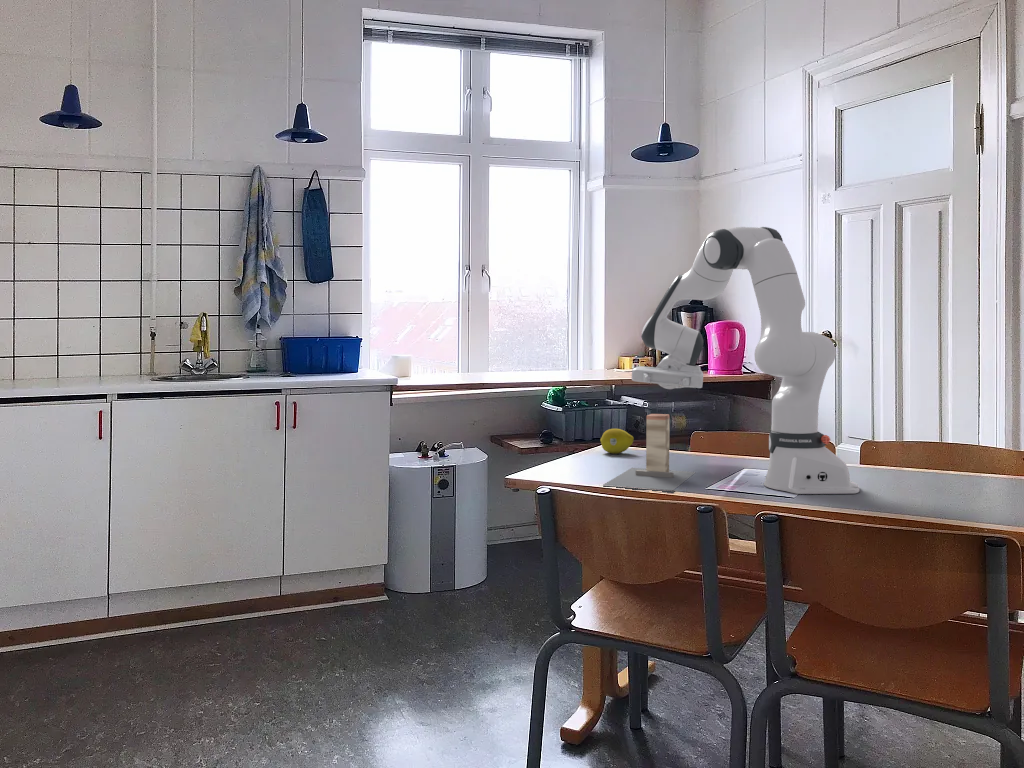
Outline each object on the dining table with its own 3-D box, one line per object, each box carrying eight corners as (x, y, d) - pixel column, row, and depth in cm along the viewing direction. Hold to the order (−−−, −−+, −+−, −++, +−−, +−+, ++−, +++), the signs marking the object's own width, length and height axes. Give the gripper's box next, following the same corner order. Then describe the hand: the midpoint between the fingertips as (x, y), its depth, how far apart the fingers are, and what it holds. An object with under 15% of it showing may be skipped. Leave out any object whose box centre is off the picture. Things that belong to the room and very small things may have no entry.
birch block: (651, 471, 228) (651, 413, 226) (669, 472, 226) (669, 414, 224) (646, 474, 223) (646, 415, 222) (664, 476, 221) (664, 416, 220)
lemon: (595, 454, 263) (595, 428, 263) (606, 450, 270) (606, 426, 269) (626, 456, 257) (626, 431, 256) (637, 453, 264) (637, 428, 263)
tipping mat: (632, 470, 234) (632, 463, 234) (696, 474, 227) (696, 467, 226) (603, 487, 211) (603, 480, 210) (673, 493, 203) (673, 485, 203)
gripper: (635, 359, 247) (628, 366, 234) (705, 366, 241) (702, 374, 228) (634, 380, 248) (626, 388, 235) (703, 387, 243) (700, 396, 230)
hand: (664, 381), depth 232 cm, fingers open, 8 cm apart
